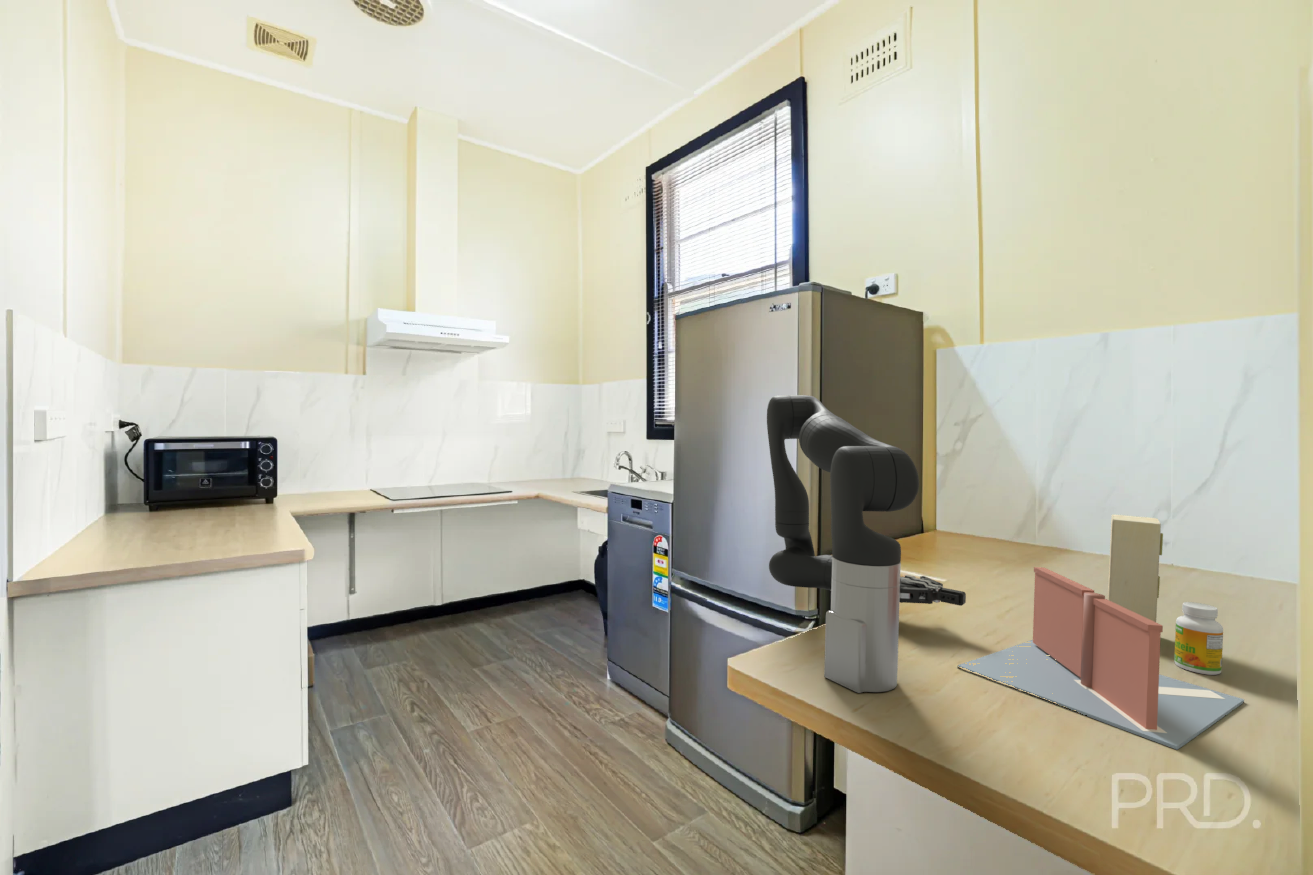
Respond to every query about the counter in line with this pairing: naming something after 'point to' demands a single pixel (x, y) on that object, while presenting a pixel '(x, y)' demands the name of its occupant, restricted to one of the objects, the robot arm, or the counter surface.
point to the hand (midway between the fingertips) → (964, 598)
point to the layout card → (1178, 701)
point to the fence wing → (1059, 617)
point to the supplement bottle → (1199, 639)
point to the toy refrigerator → (1135, 563)
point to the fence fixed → (1121, 658)
